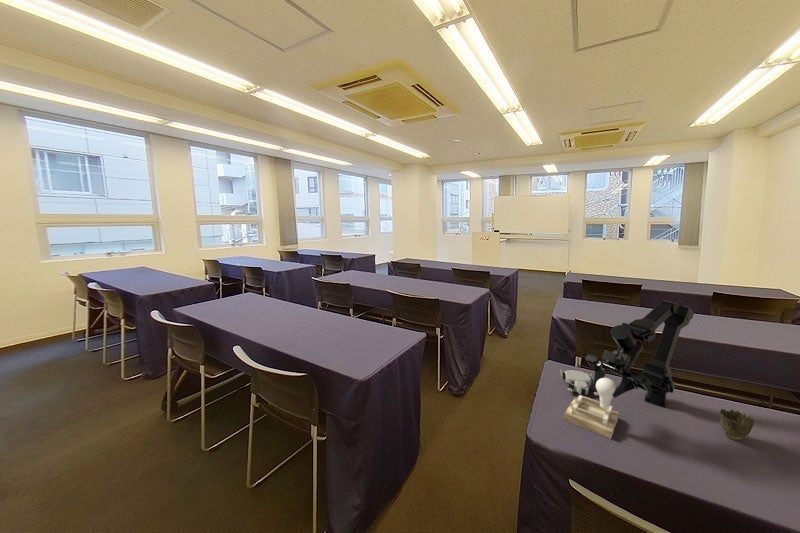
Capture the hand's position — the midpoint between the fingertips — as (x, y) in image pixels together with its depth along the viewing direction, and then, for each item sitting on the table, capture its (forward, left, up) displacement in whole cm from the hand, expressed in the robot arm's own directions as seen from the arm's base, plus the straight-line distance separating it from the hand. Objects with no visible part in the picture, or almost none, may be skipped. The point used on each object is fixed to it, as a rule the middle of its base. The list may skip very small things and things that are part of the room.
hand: (603, 392), depth 102 cm
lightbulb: (-1, +1, -7) cm, 7 cm away
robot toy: (-23, -12, -14) cm, 29 cm away
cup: (-24, +33, -13) cm, 43 cm away
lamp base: (-3, -3, -13) cm, 14 cm away
